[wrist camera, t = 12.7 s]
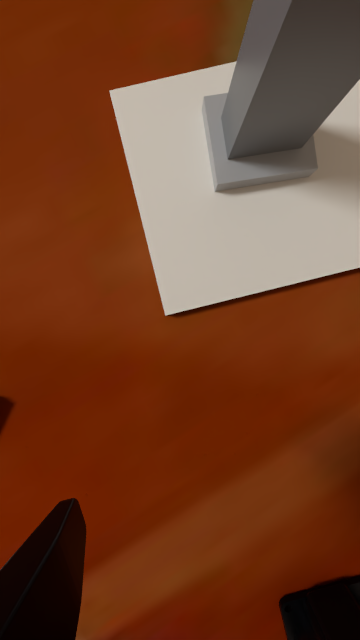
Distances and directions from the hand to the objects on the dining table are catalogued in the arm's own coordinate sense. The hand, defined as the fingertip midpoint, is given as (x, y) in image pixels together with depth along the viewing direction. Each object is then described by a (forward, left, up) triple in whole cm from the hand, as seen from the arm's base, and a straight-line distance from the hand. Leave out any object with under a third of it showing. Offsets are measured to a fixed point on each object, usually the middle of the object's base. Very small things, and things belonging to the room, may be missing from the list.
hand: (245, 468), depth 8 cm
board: (+11, -7, -12) cm, 18 cm away
